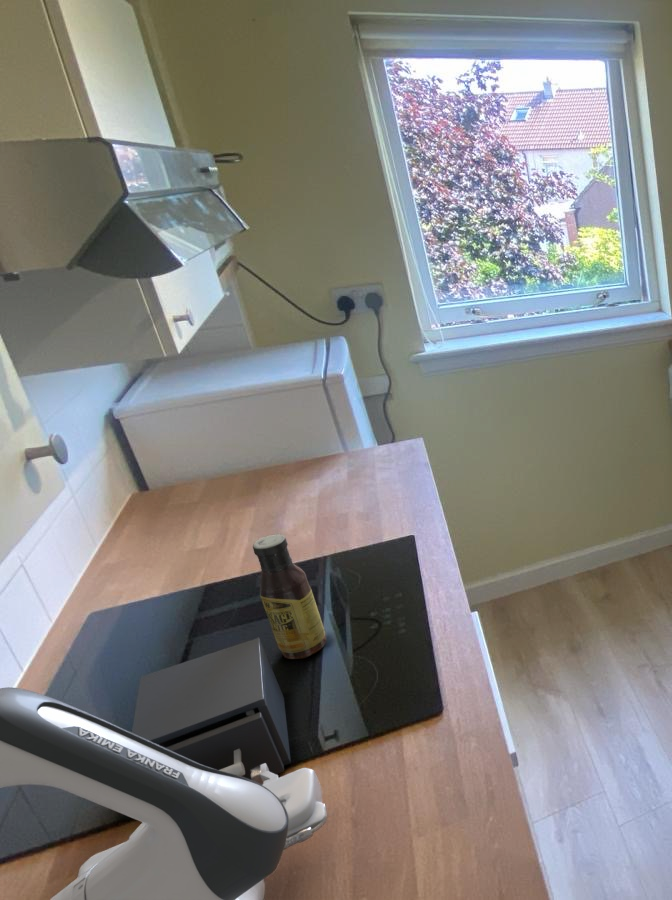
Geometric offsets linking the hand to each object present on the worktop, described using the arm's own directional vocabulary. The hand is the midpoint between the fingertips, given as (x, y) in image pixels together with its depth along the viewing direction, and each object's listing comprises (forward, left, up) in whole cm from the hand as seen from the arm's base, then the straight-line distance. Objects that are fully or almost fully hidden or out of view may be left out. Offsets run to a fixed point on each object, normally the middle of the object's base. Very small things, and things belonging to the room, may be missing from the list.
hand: (210, 790), depth 83 cm
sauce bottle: (+10, +33, -7) cm, 35 cm away
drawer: (0, +10, -5) cm, 11 cm away
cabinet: (0, +15, -6) cm, 16 cm away
